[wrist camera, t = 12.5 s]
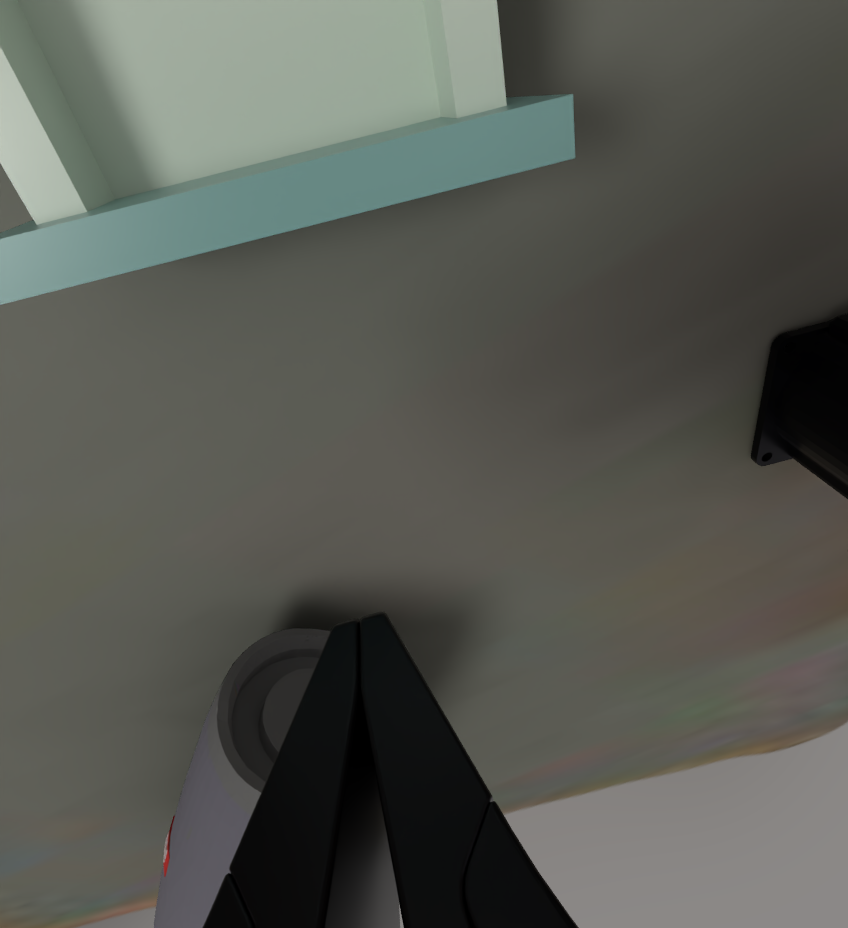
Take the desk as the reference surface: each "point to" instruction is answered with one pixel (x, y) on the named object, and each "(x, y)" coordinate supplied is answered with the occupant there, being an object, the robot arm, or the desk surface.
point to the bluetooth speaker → (232, 770)
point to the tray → (243, 122)
